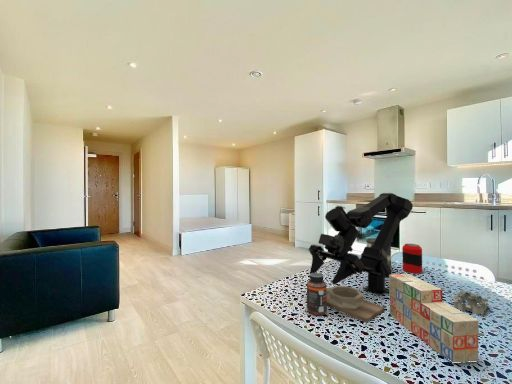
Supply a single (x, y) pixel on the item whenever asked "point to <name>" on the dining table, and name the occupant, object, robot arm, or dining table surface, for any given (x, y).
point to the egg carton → (470, 302)
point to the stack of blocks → (433, 318)
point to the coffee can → (371, 242)
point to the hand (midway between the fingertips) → (321, 279)
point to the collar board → (361, 311)
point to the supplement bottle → (316, 294)
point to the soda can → (412, 258)
